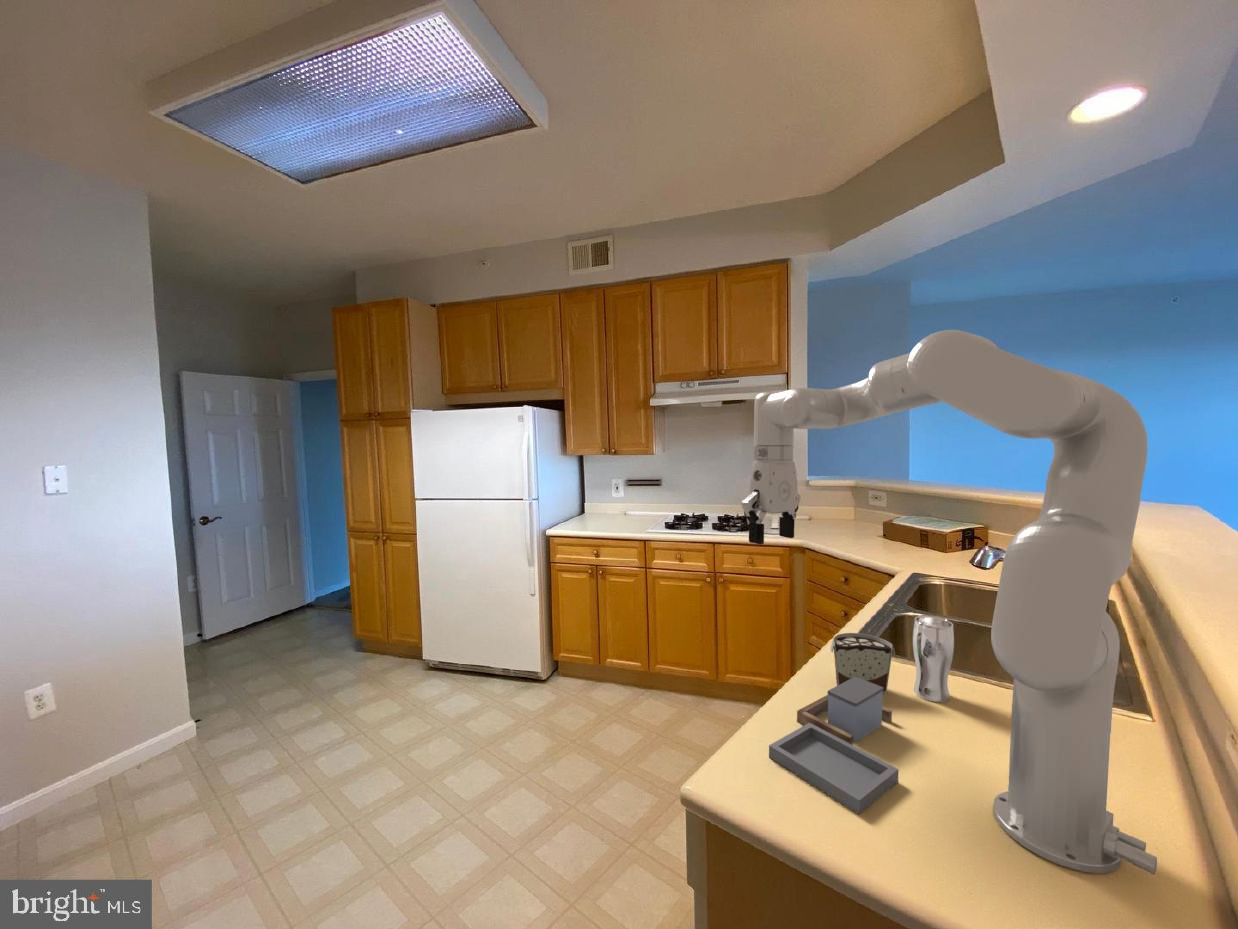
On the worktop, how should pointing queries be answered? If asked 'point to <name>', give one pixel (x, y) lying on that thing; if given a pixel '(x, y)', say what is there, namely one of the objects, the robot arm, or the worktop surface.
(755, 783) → the worktop surface
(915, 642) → the beer glass
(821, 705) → the frame
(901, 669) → the worktop surface
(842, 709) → the caddy
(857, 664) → the food container
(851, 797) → the tray
